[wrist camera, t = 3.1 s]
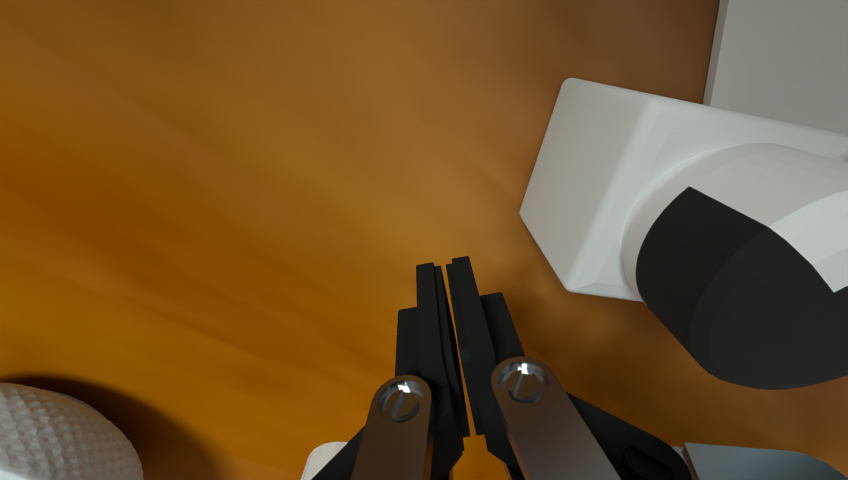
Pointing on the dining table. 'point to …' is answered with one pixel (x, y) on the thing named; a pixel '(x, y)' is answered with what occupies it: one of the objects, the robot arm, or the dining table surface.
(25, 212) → the dining table surface
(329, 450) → the shot glass
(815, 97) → the mat
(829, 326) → the medicine bottle
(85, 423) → the cereal bowl
